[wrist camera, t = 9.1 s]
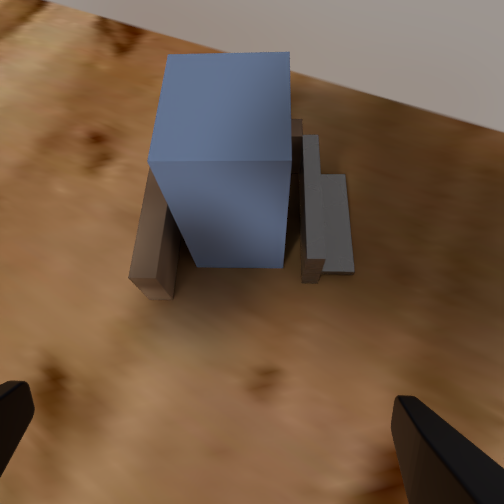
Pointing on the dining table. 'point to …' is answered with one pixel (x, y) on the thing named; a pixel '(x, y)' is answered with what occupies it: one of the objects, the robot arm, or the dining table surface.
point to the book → (226, 155)
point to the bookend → (322, 218)
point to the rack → (171, 234)
